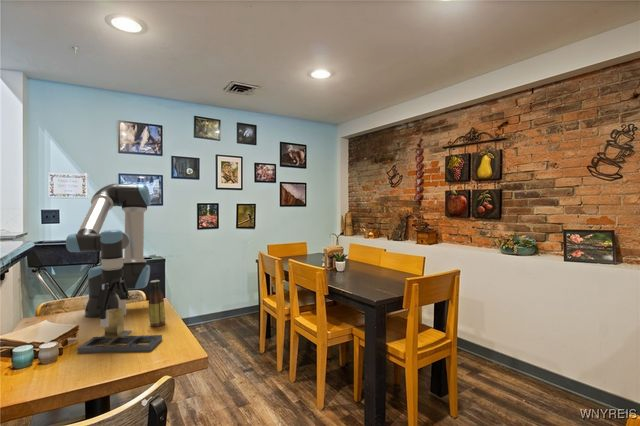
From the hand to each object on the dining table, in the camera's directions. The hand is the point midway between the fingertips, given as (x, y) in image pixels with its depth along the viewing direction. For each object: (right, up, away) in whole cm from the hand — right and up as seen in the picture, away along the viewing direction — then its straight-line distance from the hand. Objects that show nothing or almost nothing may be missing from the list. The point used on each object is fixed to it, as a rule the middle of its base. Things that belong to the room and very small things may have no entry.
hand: (114, 320), depth 137 cm
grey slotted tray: (+9, -7, -9) cm, 14 cm away
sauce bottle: (+11, -6, +13) cm, 18 cm away
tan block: (0, -6, 0) cm, 6 cm away
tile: (0, -7, 0) cm, 7 cm away
